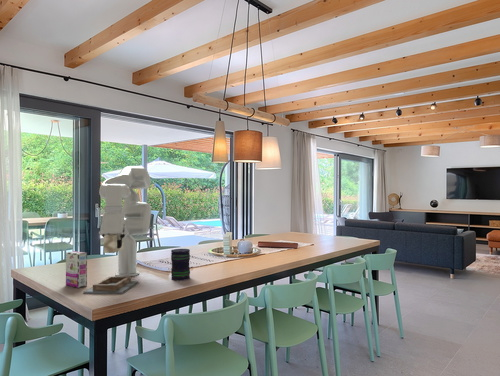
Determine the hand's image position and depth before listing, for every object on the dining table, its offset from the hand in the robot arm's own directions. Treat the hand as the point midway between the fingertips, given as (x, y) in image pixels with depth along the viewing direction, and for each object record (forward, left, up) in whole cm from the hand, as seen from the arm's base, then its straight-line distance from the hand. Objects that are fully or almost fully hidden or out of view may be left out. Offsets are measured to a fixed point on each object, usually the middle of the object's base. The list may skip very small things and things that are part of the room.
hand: (113, 247), depth 172 cm
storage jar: (-20, +27, -20) cm, 39 cm away
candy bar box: (-4, -21, -20) cm, 29 cm away
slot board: (0, -1, -19) cm, 19 cm away
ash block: (0, 0, -2) cm, 2 cm away
